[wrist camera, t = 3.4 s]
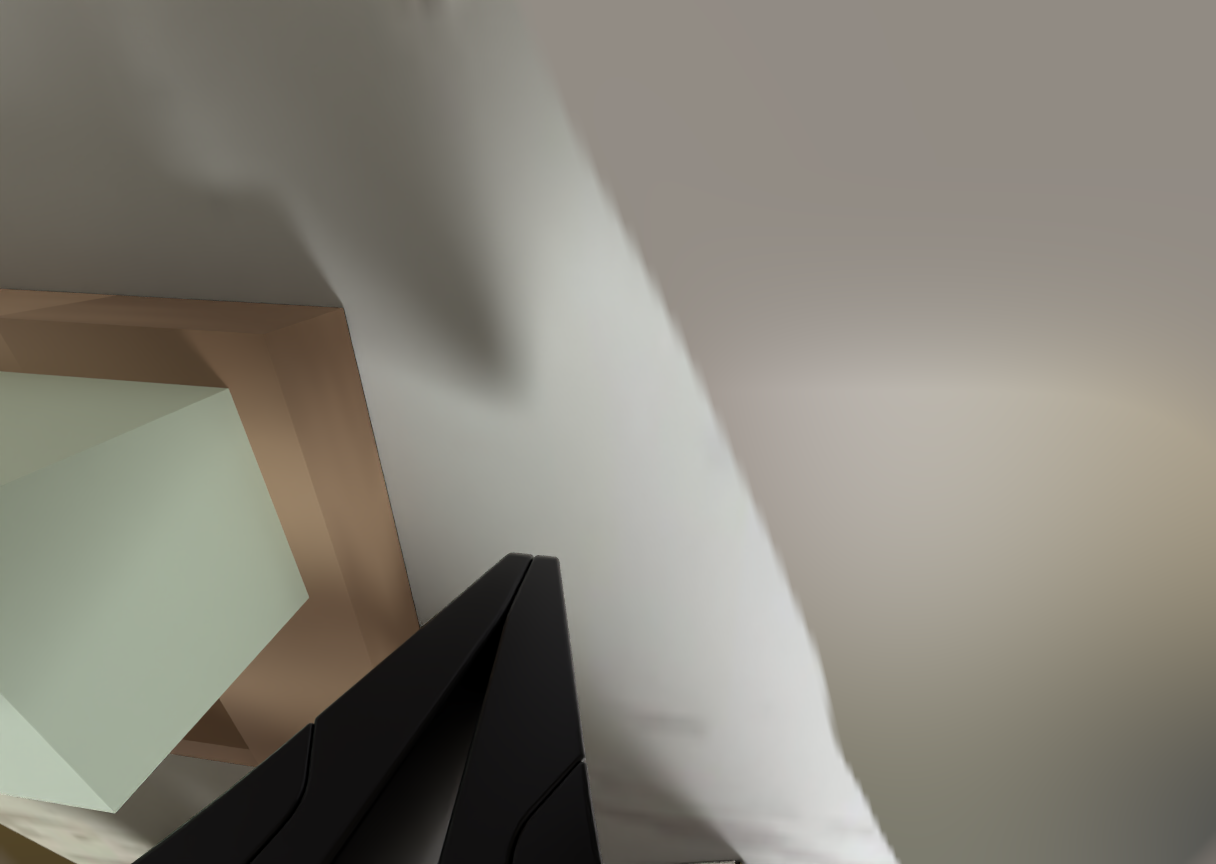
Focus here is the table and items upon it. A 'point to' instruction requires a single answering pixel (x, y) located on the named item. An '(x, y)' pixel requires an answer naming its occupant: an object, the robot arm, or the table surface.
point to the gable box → (721, 863)
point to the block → (125, 577)
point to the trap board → (290, 465)
